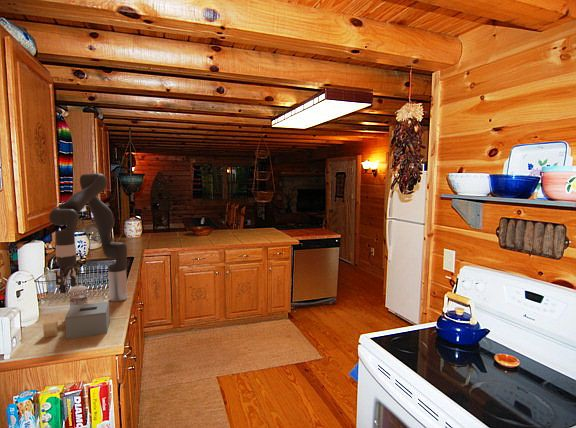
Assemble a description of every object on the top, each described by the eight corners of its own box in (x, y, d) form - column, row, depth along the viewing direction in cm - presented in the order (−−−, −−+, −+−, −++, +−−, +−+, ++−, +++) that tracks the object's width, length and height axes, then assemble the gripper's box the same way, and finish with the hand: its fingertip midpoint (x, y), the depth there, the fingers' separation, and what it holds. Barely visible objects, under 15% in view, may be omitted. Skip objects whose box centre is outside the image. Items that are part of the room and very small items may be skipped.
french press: (91, 309, 185) (89, 264, 181) (88, 318, 174) (85, 270, 171) (70, 312, 181) (67, 265, 177) (65, 321, 170) (62, 272, 167)
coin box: (72, 325, 166) (71, 305, 165) (109, 320, 172) (108, 301, 171) (66, 338, 153) (65, 317, 152) (107, 333, 159) (105, 312, 158)
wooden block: (45, 335, 156) (44, 322, 155) (58, 333, 158) (57, 321, 157) (43, 337, 154) (42, 324, 153) (57, 335, 156) (56, 323, 155)
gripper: (65, 250, 158) (67, 284, 160) (47, 258, 144) (50, 295, 146) (82, 250, 159) (84, 284, 161) (66, 258, 145) (68, 295, 147)
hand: (68, 289), depth 154 cm, fingers open, 8 cm apart
